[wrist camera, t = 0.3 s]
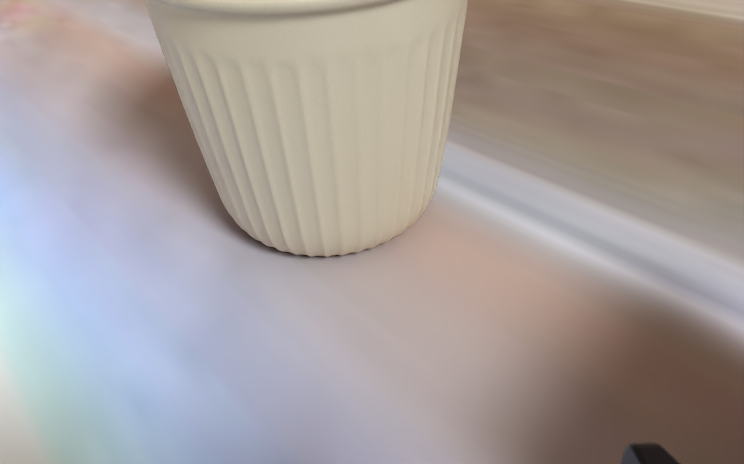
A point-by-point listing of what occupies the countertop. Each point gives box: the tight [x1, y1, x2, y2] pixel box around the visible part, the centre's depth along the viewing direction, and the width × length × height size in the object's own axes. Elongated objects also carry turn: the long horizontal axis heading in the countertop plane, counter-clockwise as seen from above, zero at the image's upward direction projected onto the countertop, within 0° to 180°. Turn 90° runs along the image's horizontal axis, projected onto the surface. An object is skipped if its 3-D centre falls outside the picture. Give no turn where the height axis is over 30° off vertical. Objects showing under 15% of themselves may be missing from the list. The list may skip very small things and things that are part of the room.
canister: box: [144, 0, 468, 257], centre depth 37 cm, size 18×18×21 cm
